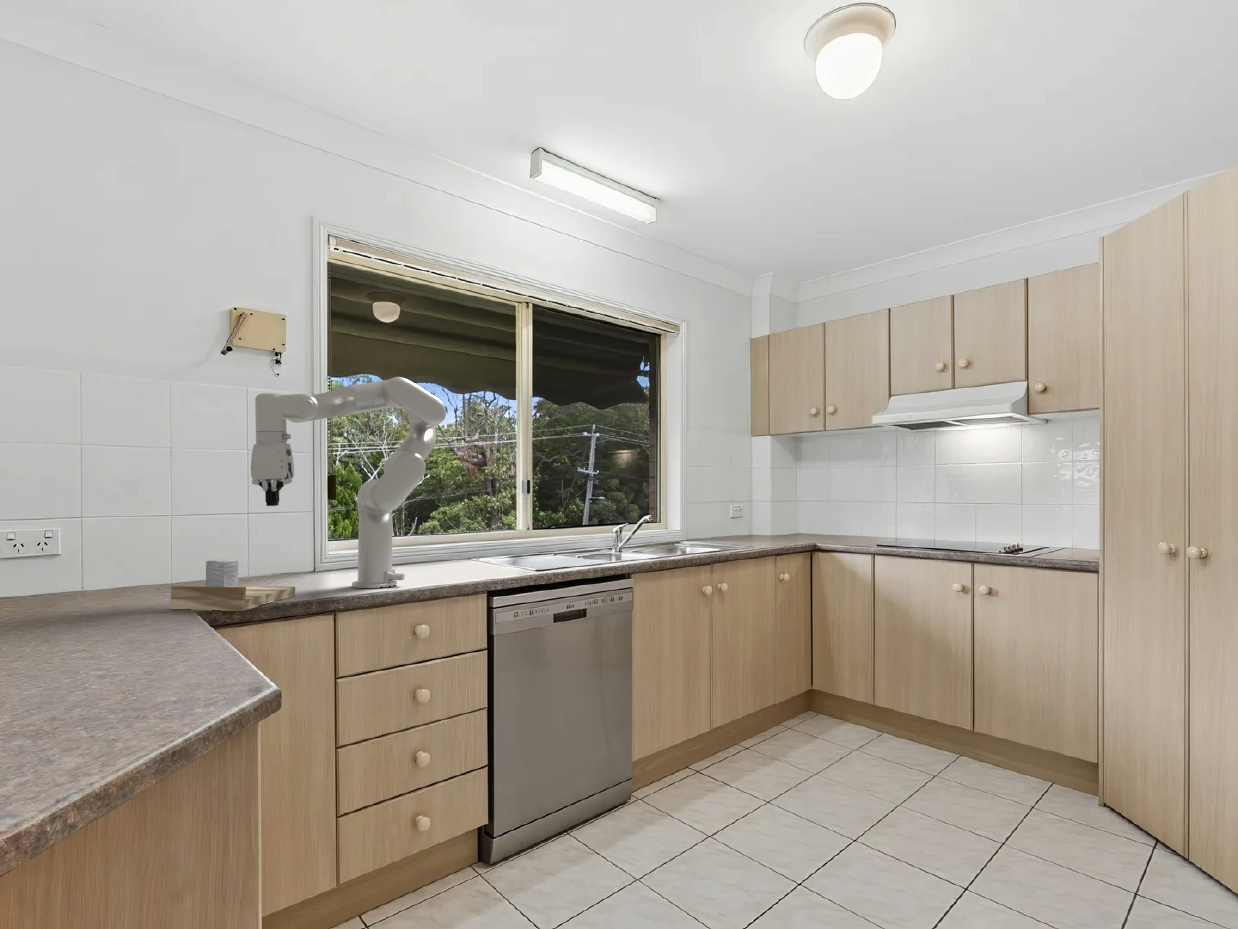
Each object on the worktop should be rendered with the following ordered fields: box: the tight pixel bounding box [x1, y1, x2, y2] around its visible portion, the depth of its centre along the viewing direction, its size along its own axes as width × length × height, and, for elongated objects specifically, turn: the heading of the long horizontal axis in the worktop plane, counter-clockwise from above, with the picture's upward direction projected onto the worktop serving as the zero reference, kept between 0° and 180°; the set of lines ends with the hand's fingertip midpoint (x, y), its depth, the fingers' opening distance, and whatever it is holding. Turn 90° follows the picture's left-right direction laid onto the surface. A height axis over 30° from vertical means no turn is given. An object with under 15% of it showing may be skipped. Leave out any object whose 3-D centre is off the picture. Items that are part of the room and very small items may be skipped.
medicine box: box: [205, 558, 239, 587], centre depth 187 cm, size 8×4×9 cm, turn 65°
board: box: [170, 585, 296, 612], centre depth 169 cm, size 22×18×6 cm
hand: (272, 505), depth 182 cm, fingers closed
